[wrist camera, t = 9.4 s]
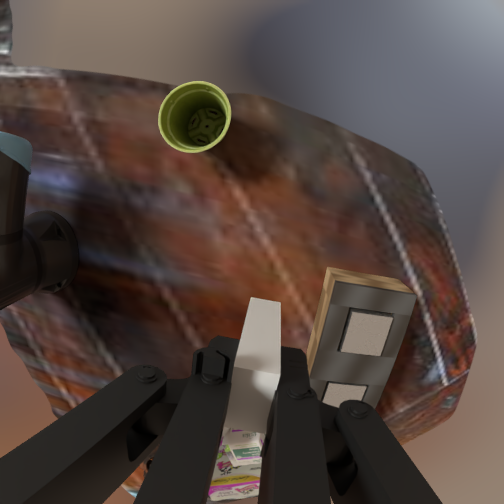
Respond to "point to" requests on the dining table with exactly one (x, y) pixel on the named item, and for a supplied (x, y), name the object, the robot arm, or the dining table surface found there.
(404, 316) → the socket block
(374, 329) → the peg
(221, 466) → the candy bar box
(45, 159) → the dining table surface
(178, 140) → the plant pot
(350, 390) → the seated peg
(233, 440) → the syrup box
